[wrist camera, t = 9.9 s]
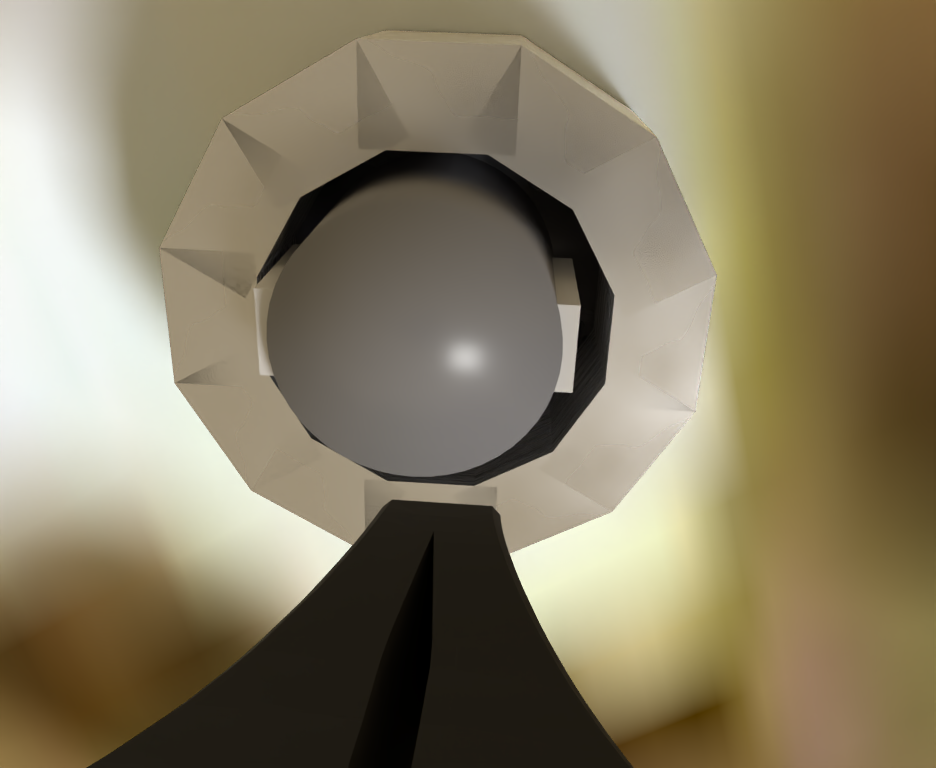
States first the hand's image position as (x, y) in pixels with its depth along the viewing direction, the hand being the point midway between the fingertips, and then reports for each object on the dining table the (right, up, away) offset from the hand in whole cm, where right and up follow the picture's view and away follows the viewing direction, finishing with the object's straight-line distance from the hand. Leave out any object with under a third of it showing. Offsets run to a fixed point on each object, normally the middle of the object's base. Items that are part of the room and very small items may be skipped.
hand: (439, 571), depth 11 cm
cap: (0, +5, +8) cm, 9 cm away
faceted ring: (0, +5, +9) cm, 10 cm away
